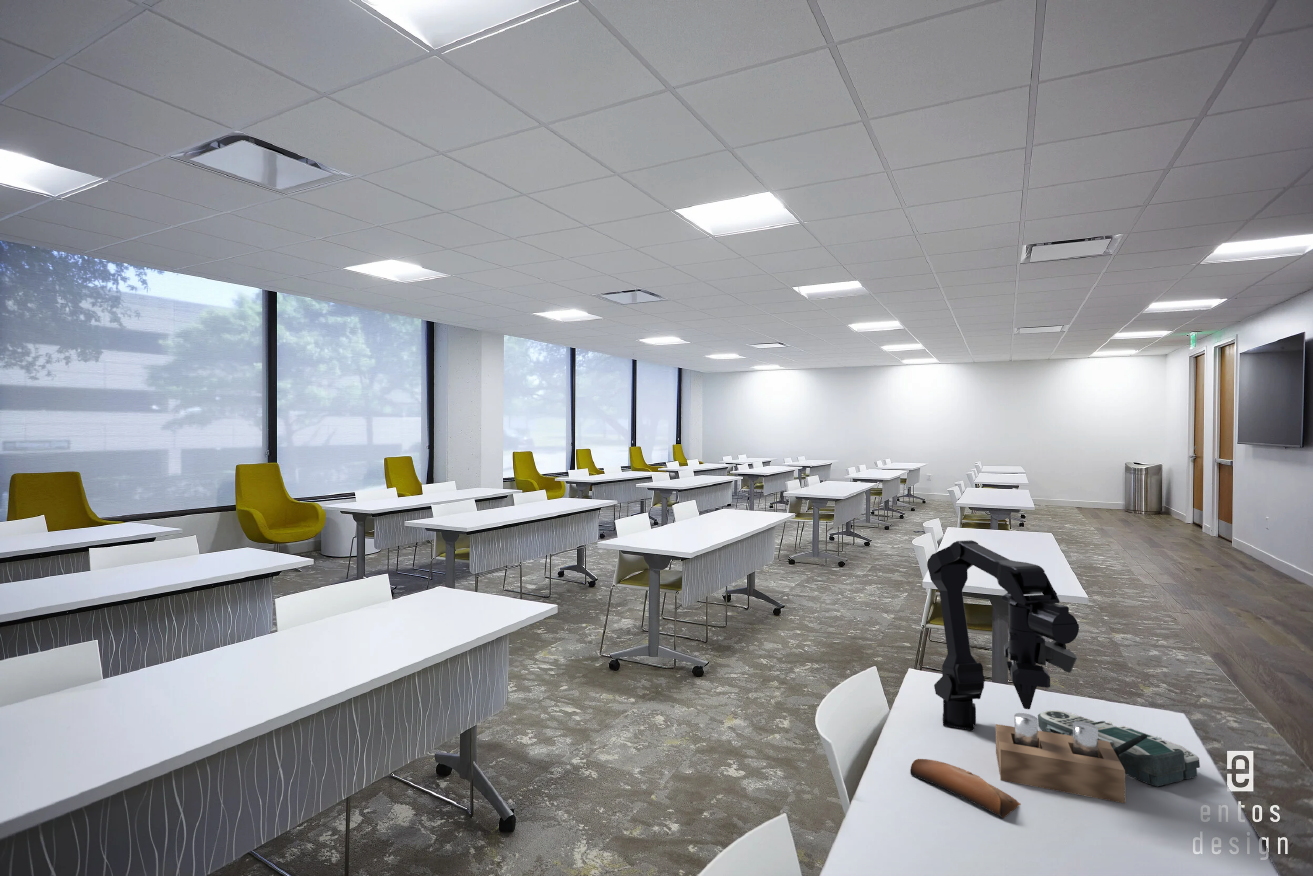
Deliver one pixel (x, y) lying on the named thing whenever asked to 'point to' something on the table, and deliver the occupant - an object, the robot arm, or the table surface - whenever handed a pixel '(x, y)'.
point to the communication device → (1132, 749)
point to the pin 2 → (1085, 739)
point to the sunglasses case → (964, 785)
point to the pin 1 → (1026, 730)
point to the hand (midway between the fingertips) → (1025, 705)
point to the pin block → (1060, 765)
